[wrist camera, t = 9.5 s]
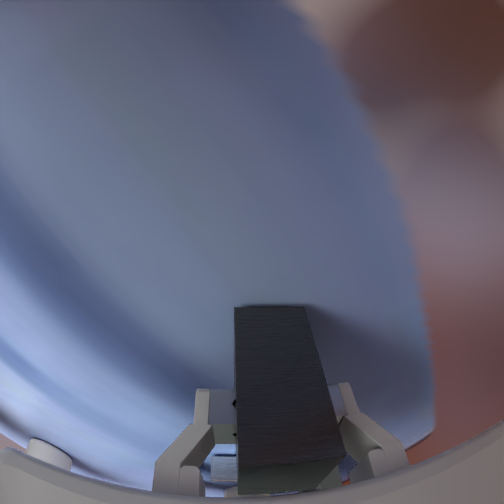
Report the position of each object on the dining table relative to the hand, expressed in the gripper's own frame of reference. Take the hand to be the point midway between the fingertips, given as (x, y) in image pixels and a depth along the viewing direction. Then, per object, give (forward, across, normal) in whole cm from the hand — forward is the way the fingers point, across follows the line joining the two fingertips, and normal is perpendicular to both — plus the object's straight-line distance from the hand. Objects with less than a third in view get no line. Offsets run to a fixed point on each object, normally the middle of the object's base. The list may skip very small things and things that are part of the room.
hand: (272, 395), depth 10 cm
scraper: (+3, 0, +7) cm, 8 cm away
